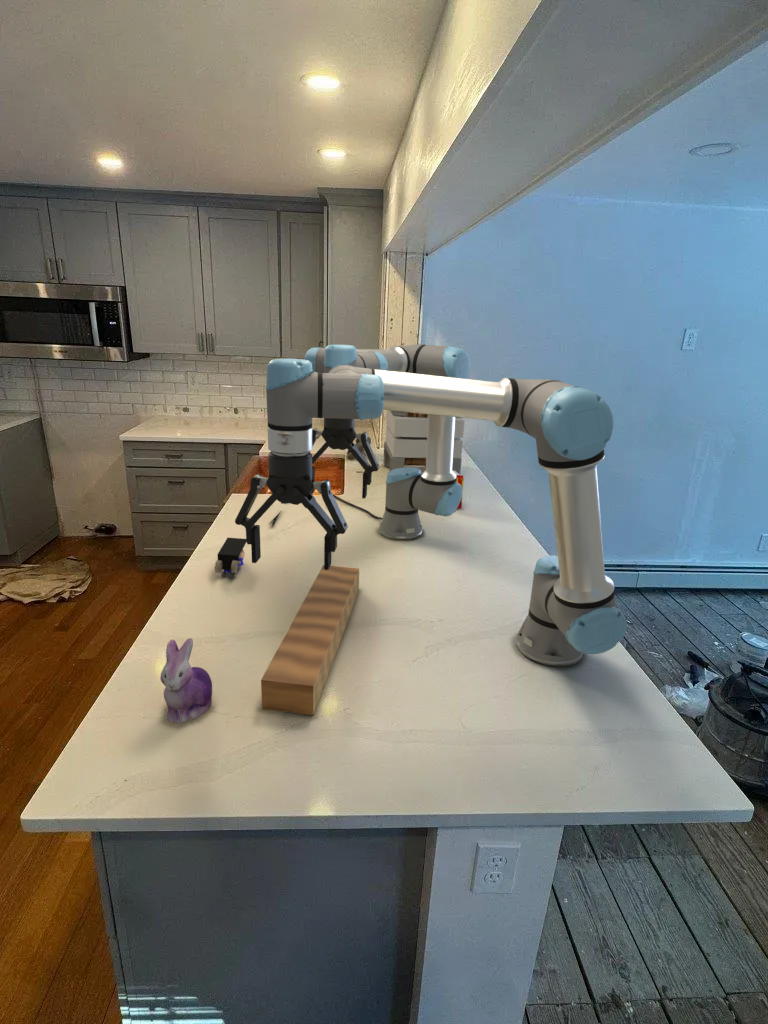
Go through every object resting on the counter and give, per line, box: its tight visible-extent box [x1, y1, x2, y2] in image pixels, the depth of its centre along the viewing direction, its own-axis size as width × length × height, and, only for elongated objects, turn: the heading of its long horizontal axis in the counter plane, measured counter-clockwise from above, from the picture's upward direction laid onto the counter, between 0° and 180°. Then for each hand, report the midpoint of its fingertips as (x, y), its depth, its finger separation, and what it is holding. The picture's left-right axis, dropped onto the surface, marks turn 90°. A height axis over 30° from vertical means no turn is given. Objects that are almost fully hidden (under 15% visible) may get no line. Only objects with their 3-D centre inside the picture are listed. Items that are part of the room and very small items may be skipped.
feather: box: [268, 510, 282, 527], centre depth 212 cm, size 2×28×2 cm
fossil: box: [346, 436, 372, 461], centre depth 300 cm, size 22×10×15 cm
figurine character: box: [214, 537, 247, 578], centre depth 166 cm, size 7×8×15 cm
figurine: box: [159, 637, 213, 724], centre depth 107 cm, size 9×10×15 cm
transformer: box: [383, 410, 465, 475], centre depth 268 cm, size 34×33×41 cm
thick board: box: [260, 564, 360, 716], centre depth 134 cm, size 53×10×7 cm, turn 173°
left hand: (338, 494), depth 144 cm, fingers open, 13 cm apart
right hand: (291, 563), depth 105 cm, fingers open, 13 cm apart
